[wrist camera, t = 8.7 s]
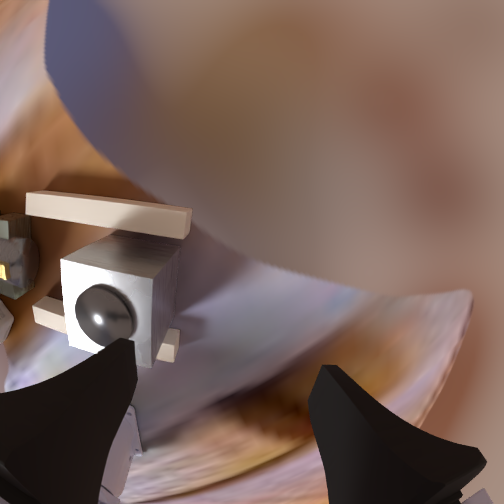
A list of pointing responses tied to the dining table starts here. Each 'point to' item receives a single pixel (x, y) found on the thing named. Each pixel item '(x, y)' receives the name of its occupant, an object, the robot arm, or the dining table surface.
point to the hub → (120, 294)
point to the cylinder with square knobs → (17, 255)
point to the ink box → (5, 322)
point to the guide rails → (112, 216)
